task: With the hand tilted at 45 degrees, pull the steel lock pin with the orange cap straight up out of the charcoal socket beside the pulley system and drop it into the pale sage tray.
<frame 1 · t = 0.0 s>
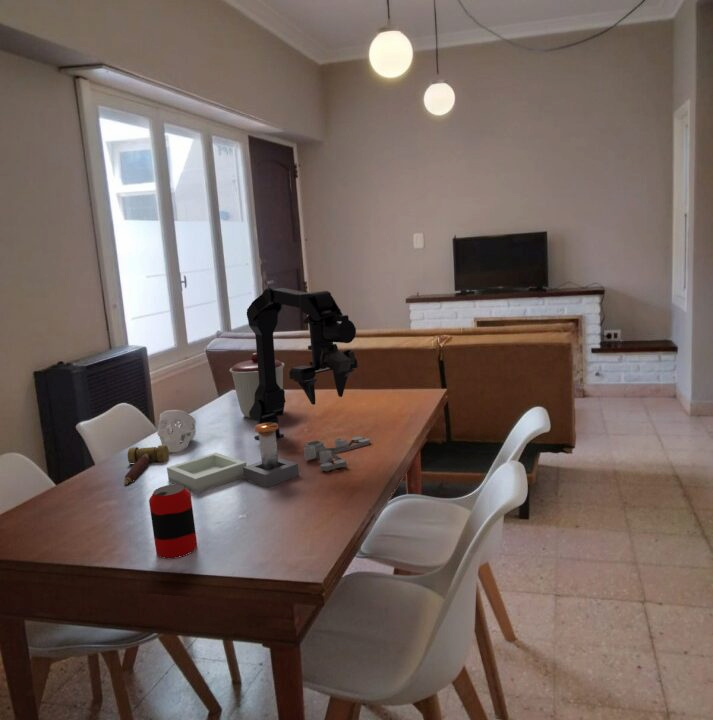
hand: (327, 400, 176), 15 cm above the table, tool pointing down, fingers open, 9 cm apart
lock pin: (268, 451, 164), in the pin socket
pulley system: (332, 457, 179), on the table
skull bowl: (177, 446, 200), on the table
canister: (262, 415, 228), on the table
soda can: (177, 551, 129), on the table
tray: (207, 478, 168), on the table
pin socket: (271, 477, 165), on the table
gavel: (140, 473, 178), on the table
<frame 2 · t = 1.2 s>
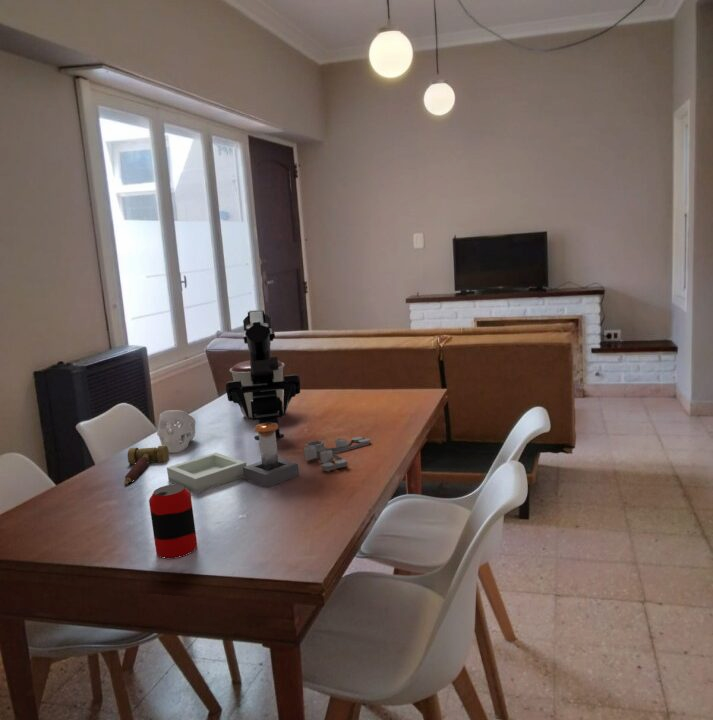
hand: (266, 415, 171), 13 cm above the table, tool tilted 45°, fingers open, 9 cm apart
nothing on the table moved.
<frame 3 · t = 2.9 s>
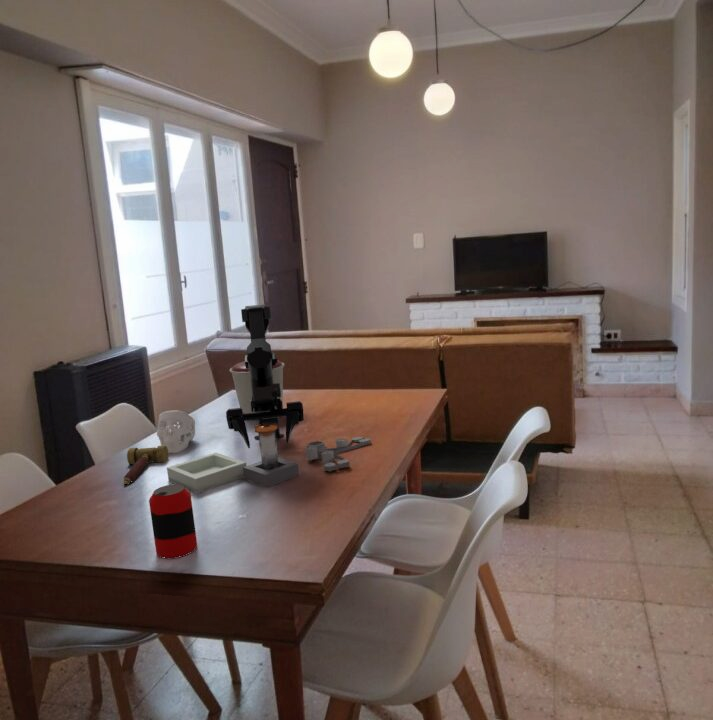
hand: (268, 445, 164), 8 cm above the table, tool tilted 45°, fingers open, 9 cm apart
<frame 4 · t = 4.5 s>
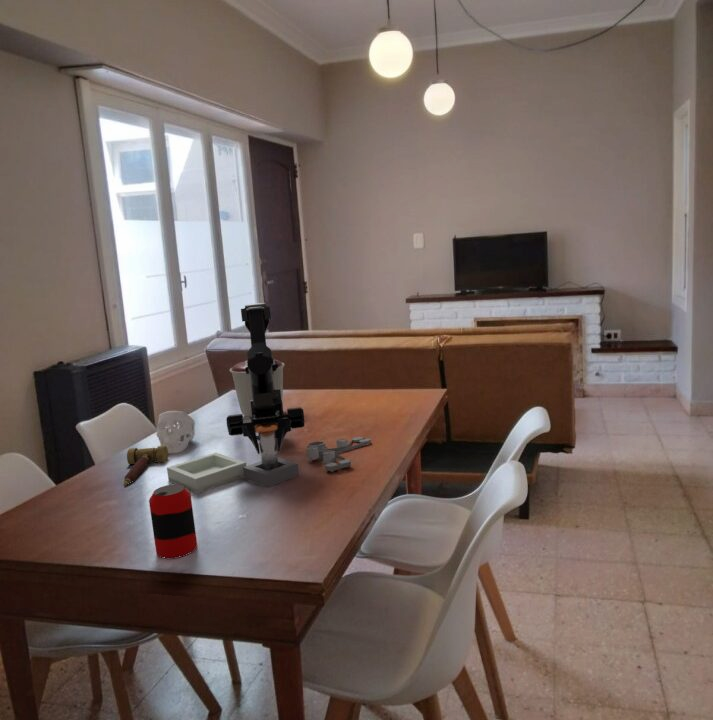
hand: (268, 451, 163), 7 cm above the table, tool tilted 45°, fingers closed on lock pin, 4 cm apart
lock pin: (268, 451, 164), in the pin socket, touching gripper
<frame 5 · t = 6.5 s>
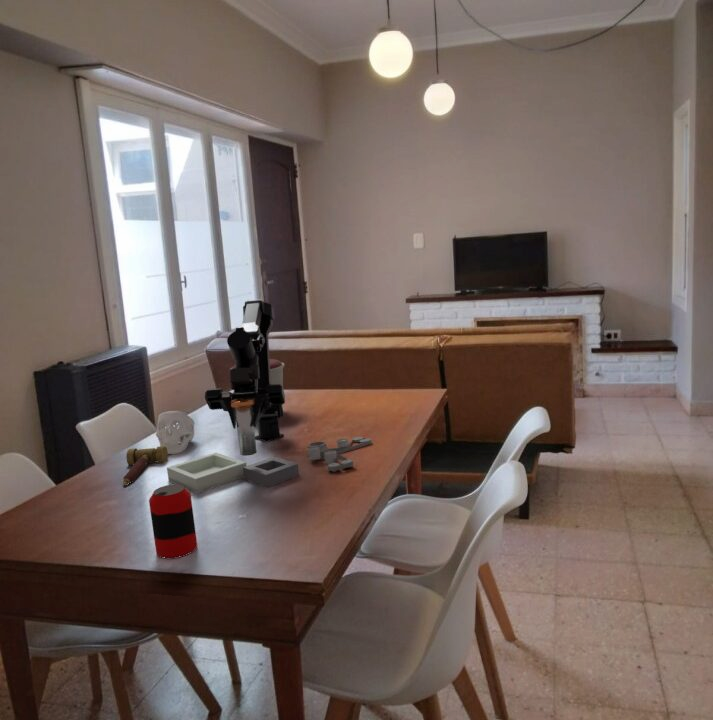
hand: (244, 427, 162), 13 cm above the table, tool tilted 45°, fingers closed on lock pin, 4 cm apart
lock pin: (245, 427, 163), point 13 cm above the table, touching gripper
when the fingers open (9 cm above the table, at t = 8.6 s): lock pin drops 1 cm, resting on tray.
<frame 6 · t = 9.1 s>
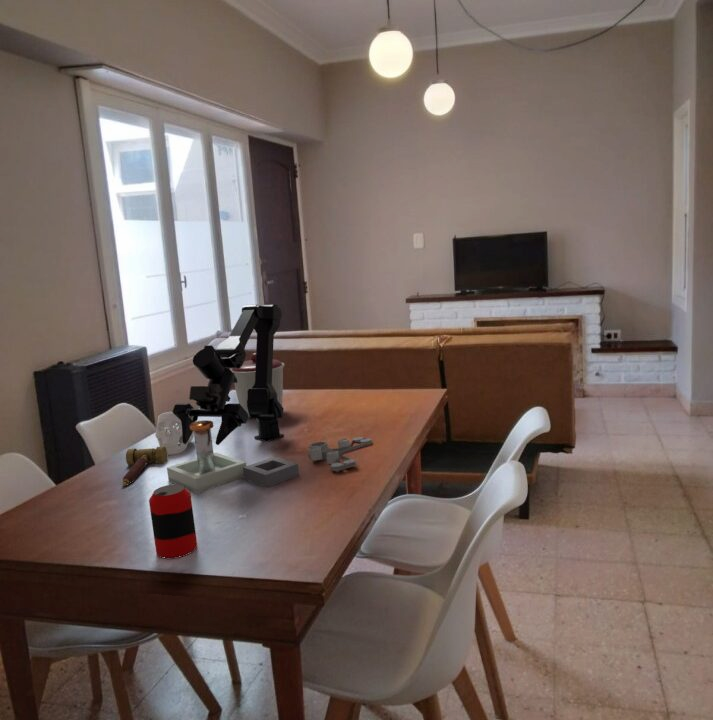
hand: (200, 443, 165), 9 cm above the table, tool tilted 45°, fingers open, 9 cm apart
lock pin: (204, 449, 167), in the tray, point 8 cm above the table
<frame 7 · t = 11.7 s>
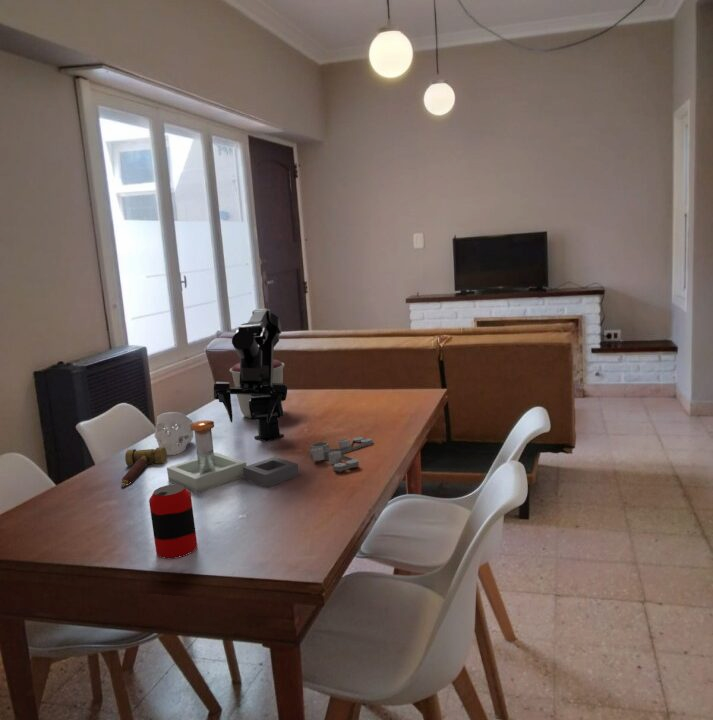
hand: (249, 422, 174), 11 cm above the table, tool tilted 35°, fingers open, 9 cm apart
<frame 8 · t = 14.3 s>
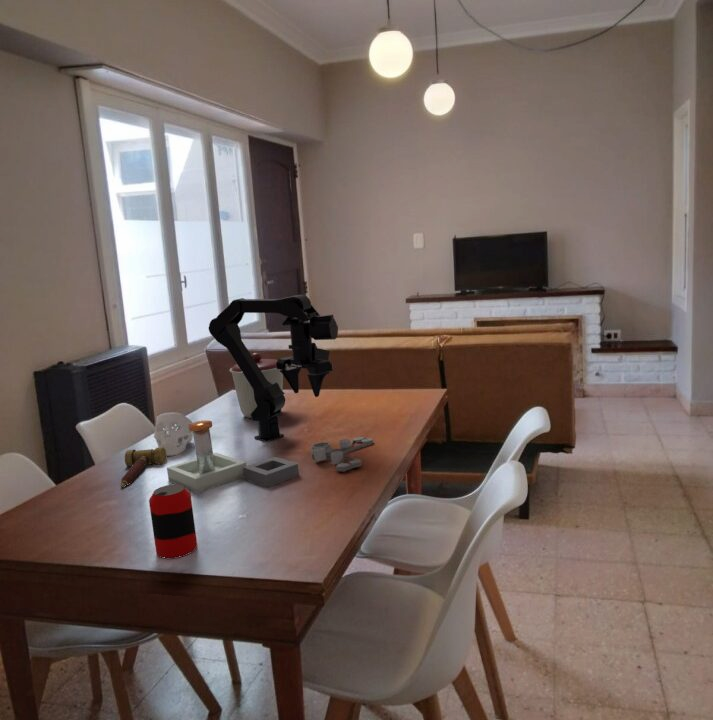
hand: (306, 394, 192), 13 cm above the table, tool pointing down, fingers open, 9 cm apart
at the end: lock pin inside the target area on the tray (0.1 cm from its centre), point 7.5 cm above the tray's base; the gripper is holding nothing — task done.
